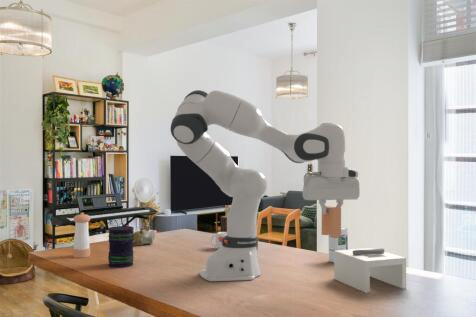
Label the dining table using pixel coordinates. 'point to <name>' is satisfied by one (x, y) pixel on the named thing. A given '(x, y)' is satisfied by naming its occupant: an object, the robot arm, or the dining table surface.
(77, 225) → the salt shaker
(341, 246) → the syrup box
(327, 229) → the notched wooden block
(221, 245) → the mug
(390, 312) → the dining table surface
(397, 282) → the shelf
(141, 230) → the ceramic sculpture
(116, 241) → the storage jar
